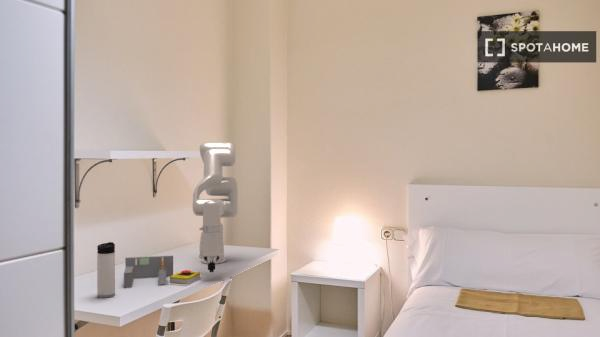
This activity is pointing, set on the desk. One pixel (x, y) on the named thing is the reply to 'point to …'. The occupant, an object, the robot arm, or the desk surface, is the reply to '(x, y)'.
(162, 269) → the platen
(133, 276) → the frame
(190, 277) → the emergency button
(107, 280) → the travel mug
